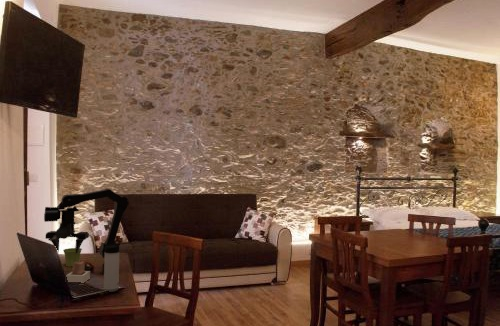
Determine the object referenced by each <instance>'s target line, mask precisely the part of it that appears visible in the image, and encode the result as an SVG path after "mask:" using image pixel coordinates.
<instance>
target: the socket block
mask: <svg viewBox="0 0 500 326" xmlns="http://www.w3.org/2000/svg"><path fill="white" fill-rule="evenodd" d="M66 277H67V280H68V282H81V283H84V282H85V281H87V280H88V279H90V278H91V270H84V274H83V275H72V271H70V272H69V273H67V274H66V275H65V278H66ZM90 280H91V279H90ZM87 282H88V281H87Z"/></svg>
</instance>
